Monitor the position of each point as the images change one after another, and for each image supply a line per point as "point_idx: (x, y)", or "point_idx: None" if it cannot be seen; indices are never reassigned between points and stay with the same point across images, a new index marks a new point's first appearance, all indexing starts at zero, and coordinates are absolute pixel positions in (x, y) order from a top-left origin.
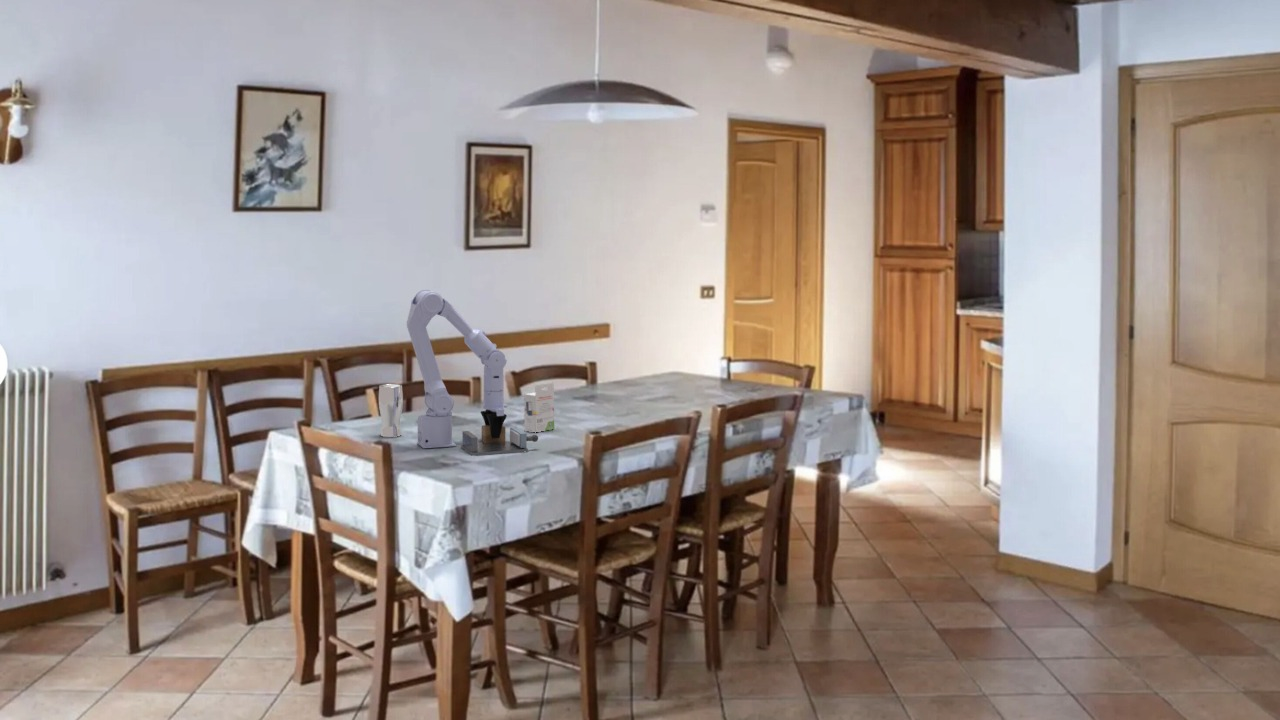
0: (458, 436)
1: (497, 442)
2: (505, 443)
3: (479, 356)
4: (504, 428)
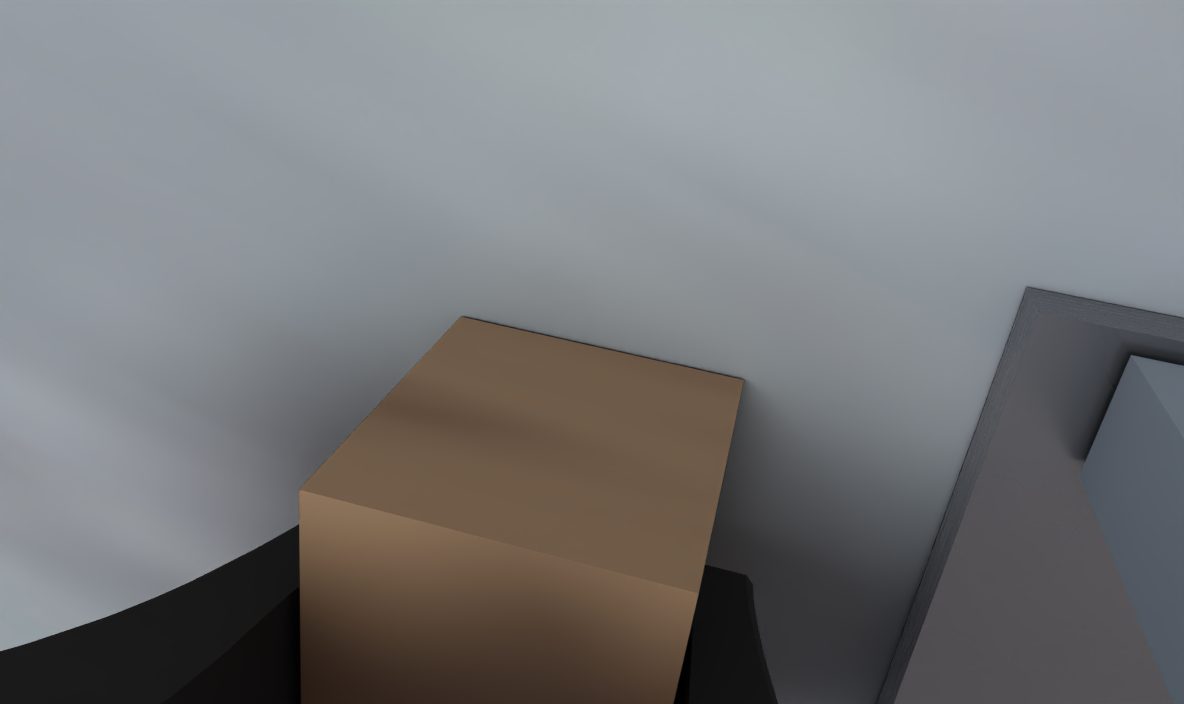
0: None
1: (945, 682)
2: None
3: None
4: (697, 583)
